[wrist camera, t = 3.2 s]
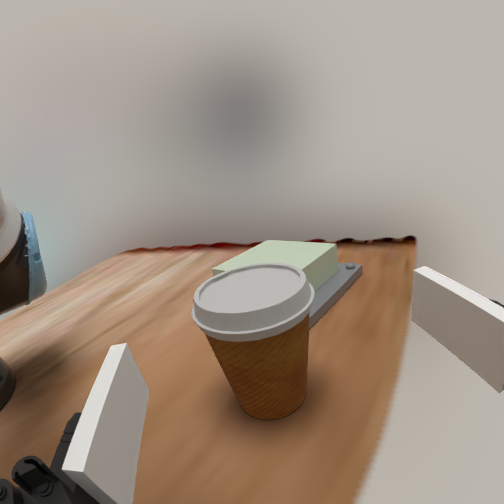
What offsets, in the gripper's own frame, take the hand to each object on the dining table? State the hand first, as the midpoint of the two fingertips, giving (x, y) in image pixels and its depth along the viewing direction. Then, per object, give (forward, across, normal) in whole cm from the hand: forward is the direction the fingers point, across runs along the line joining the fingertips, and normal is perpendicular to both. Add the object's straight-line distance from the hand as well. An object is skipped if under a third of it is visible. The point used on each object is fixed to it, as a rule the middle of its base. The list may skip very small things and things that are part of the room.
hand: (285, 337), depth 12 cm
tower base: (+33, +6, -13) cm, 36 cm away
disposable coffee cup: (+10, 0, -14) cm, 17 cm away
